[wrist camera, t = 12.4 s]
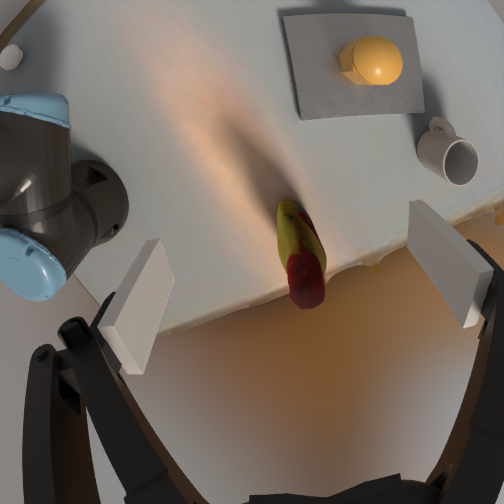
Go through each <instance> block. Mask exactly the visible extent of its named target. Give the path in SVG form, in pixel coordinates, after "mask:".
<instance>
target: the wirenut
mask: <svg viewBox="0 0 504 504" xmlns="http://www.w3.org/2000/svg"><path fill="white" fill-rule="evenodd" d="M339 60H340V66H341V72H342V73H343V74H344V75H345V76H347V77H348V78H349V79H350V80H351V81H353V82H354V83H355V84H356V85H389V84H390V83H392V82H394V81H395V80H396V79H397V78H398V77H399V76H400V74H401V71H402V67H403V62H402V57H401V54H400V52H399V50H398V48H397V47H396V46H395V45H394V44H393V43H392V42H391V41H389V40H388V39H386V38H384V37H380V36H369V37H360V38H358V39H355V40H353V41H351V42H349V43H348V44H347V45H346V47H345V48H344V49H343V50H342V51H341V53H340V54H339Z"/></svg>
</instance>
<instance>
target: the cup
mask: <svg viewBox="0 0 504 504" xmlns="http://www.w3.org/2000/svg"><path fill="white" fill-rule="evenodd" d="M438 127H440V128H442V129H443V130H444V131H442V130H439V128H438ZM429 129H430V130H428V131H426V132H425V133H424V134H423V135H422V136H421V137H420V139H419V142H418V145H417V155H418V158H419V161H420V162H421V163H422V165H423V166H425V167H426V168H427V169H428V170H430V171H432V172H433V173H435V174H436V175H438V176H440V177H441V178H443V179H444V180H446V181H447V182H449V183H450V184H452V185H454V186H457V187H462V186H466V185H467V184H469V183H470V182H471V181H472V180H473V179H474V178H475V176H476V174H477V171H478V168H479V155H478V151H477V149H476V147H475V146H474V145H473V144H472V143H471V142H469V141H468V140H465V139H463V138H460V137H458V136H456V133H455V131H454V128H453V127H452V125H451V124H450V123H449V122H448V121H447V120H446V119H444V118H442V117H437V116H436V117H433V118H432V119H431V120H430V122H429Z"/></svg>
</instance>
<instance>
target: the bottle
mask: <svg viewBox="0 0 504 504" xmlns="http://www.w3.org/2000/svg"><path fill="white" fill-rule="evenodd" d="M277 241H278V252H279V257H280V260H281V263H282V265H283V267H284V269H285V271H286V273H287V275H288V284H289V287H290V297H291V299H292V301H293V302H294V303H295V304H296V305H297V306H298V307H299V308H300V309H311V308H315V307H317V306H318V305H320V304H321V303H322V302H323V301H324V298H325V287H324V277H323V276H324V274H325V270H326V255H325V251H324V248H323V246H322V244H321V242H320V240H319V237H318V235H317V233H316V230H315V228H314V225H313V223H312V221H311V219H310V217H309V215H308V214H307V213H306V211H305V210H304V209H303V208H302V207H301V206H300V205H299V204H298V203H296V202H295V201H293V200H288V199H285V200H282V201H281V202H280V203H279V205H278V211H277Z"/></svg>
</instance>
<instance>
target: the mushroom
mask: <svg viewBox="0 0 504 504" xmlns="http://www.w3.org/2000/svg"><path fill="white" fill-rule="evenodd" d="M22 58H23V51H22V50H21V49H19V47H18V46H17V45H15V44H12V45H9V46H7V47H6V48H4V50H3V51H2V52H1V54H0V66H1V67H2V68H3V69H5V70H11V69H14V68H16V67H17V66H18V64H19V62H20V61H21V60H22Z"/></svg>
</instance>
